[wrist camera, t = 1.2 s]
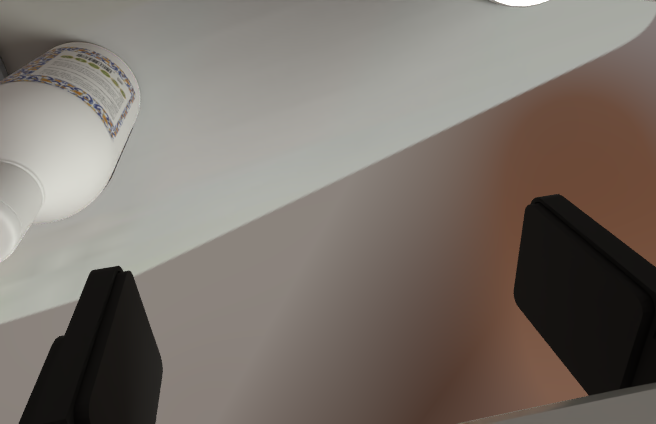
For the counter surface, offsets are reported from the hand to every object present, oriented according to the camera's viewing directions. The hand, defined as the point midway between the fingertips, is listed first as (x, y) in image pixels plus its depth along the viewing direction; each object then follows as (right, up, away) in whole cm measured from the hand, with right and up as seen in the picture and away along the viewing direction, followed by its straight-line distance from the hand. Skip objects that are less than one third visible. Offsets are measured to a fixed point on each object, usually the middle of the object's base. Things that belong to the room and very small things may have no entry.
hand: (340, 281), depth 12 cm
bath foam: (-17, +10, +23) cm, 31 cm away
